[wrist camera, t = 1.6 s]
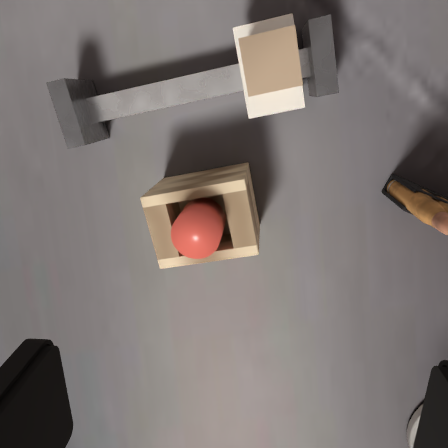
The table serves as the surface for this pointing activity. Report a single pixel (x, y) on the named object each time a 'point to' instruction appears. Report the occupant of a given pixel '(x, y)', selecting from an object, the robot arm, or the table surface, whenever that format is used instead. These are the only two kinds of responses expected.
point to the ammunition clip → (418, 202)
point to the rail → (181, 89)
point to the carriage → (270, 66)
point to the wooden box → (213, 189)
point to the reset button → (198, 228)
